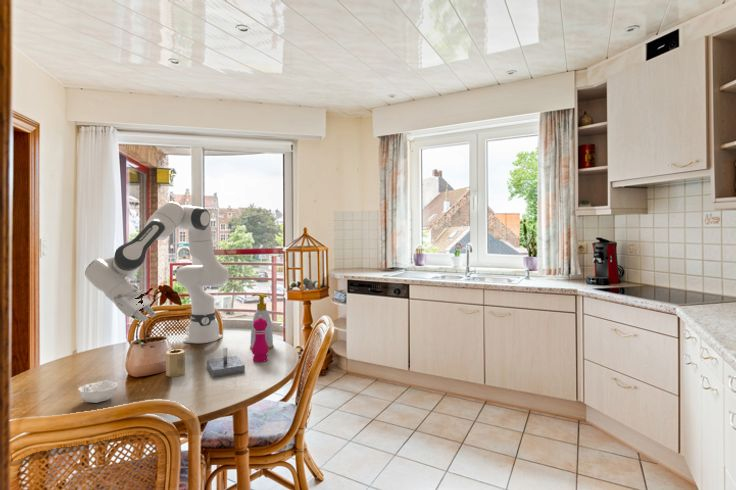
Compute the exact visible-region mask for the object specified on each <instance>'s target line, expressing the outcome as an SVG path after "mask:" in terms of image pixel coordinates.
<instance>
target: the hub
mask: <svg viewBox="0 0 736 490" xmlns="http://www.w3.org/2000/svg"><path fill="white" fill-rule="evenodd" d="M185 373H186V349H182V348H177V349H172V350H171V349H170V350H167V351H166V352H165V376H166V377H168V378H177V377H180V376H183V375H185Z"/></svg>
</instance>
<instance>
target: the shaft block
mask: <svg viewBox="0 0 736 490" xmlns="http://www.w3.org/2000/svg"><path fill="white" fill-rule="evenodd" d="M222 351H223V352H222V356H223V357H219V358H212V359H206V369H207V370H208V372H209V373H210V375H211V376H212V378H213V379H216V378H220V377H225V376H226V377H227V376H232V375H238V374H243V373H245V372H246V369H245V364H244V362H243V361H242V360H241V359H240V358H239V357H238V356H237V355H233V356H232V355H231V356H228V347H223V350H222Z"/></svg>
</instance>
